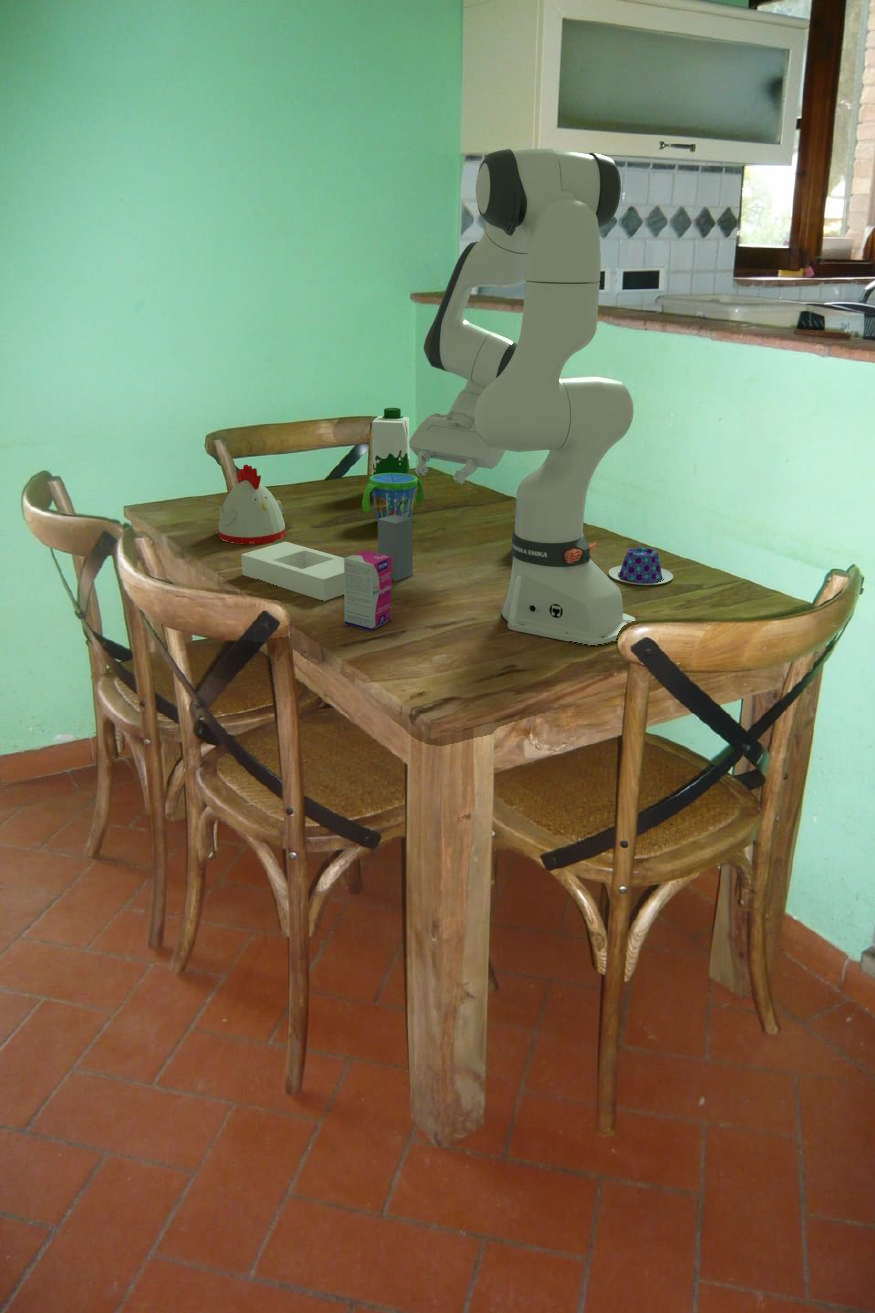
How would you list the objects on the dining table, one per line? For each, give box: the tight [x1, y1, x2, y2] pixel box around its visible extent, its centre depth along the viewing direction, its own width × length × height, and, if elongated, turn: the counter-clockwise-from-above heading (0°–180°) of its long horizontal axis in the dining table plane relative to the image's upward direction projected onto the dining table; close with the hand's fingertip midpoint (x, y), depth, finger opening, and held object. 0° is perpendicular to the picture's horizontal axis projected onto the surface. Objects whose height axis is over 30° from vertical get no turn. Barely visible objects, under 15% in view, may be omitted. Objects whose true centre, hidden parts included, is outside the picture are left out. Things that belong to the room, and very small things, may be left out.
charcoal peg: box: [377, 514, 414, 582], centre depth 184 cm, size 4×4×11 cm
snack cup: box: [361, 473, 425, 522], centre depth 218 cm, size 16×10×10 cm
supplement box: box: [343, 550, 393, 632], centre depth 162 cm, size 6×6×12 cm
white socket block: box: [240, 541, 345, 602], centre depth 183 cm, size 22×11×4 cm, turn 50°
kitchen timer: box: [218, 464, 286, 545], centre depth 207 cm, size 14×14×15 cm
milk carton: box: [371, 407, 411, 476], centre depth 241 cm, size 9×9×20 cm
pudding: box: [608, 547, 674, 586], centre depth 186 cm, size 12×12×5 cm
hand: (438, 477), depth 188 cm, fingers open, 8 cm apart
